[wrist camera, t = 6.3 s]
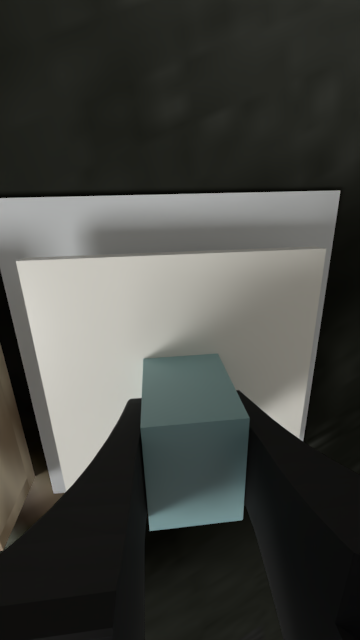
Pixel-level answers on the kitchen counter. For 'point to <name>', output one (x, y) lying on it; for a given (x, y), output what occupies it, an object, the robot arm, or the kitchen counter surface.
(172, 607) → the kitchen counter surface
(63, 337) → the lid
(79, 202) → the mat
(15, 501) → the box
